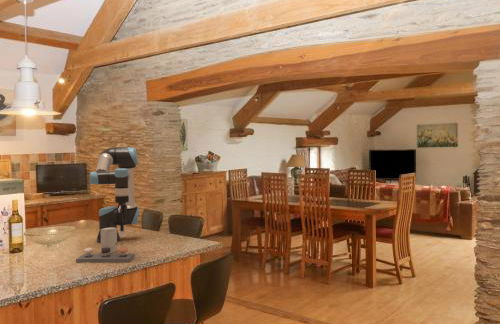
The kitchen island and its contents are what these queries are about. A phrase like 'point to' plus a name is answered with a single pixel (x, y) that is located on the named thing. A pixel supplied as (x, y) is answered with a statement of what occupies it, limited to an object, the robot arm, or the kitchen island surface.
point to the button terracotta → (123, 251)
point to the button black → (105, 251)
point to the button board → (105, 258)
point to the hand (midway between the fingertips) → (122, 236)
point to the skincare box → (109, 239)
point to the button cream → (88, 251)
